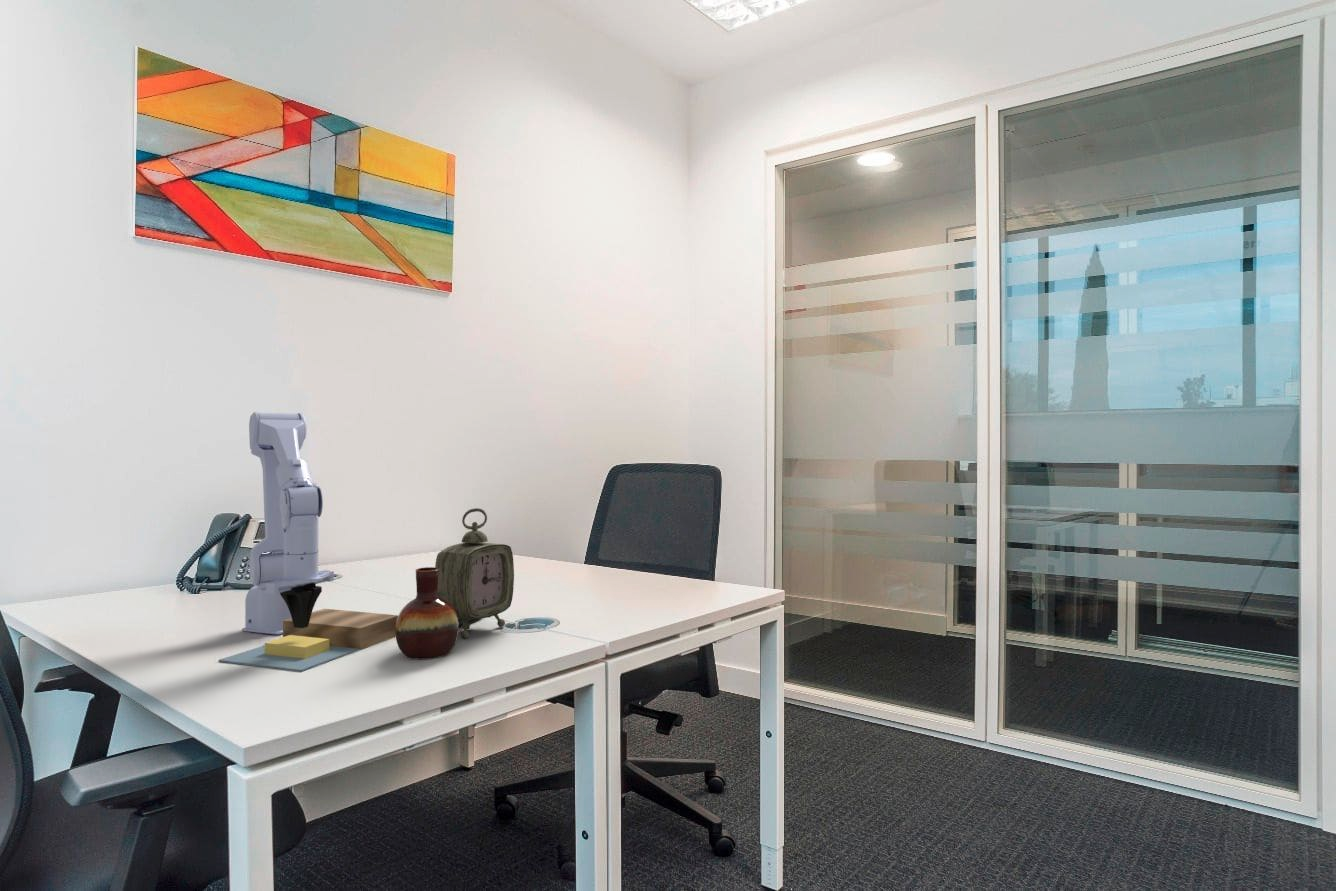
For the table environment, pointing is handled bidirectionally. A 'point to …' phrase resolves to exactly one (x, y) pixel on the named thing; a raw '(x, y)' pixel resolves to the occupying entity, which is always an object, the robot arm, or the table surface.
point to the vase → (426, 620)
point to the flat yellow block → (297, 646)
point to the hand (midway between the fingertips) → (301, 627)
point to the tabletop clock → (476, 576)
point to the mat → (286, 659)
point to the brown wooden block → (346, 627)
